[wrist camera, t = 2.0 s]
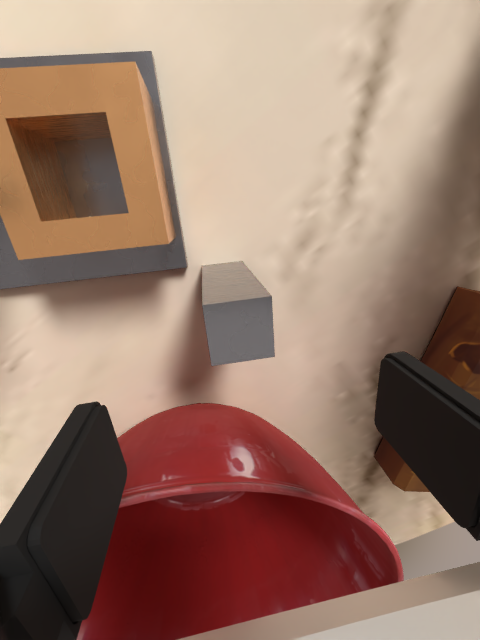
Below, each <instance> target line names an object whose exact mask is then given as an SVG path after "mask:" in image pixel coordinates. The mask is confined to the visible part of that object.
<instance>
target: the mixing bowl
mask: <svg viewBox="0 0 480 640" xmlns="http://www.w3.org/2000/svg"><path fill="white" fill-rule="evenodd" d="M117 440H118V442H119V445H120V448H121V451H122V454H123V457H124V460H125V463H126V466H127V479H126V483H125V487H124V491H123V494H122V498H121V502H120V506H119V509H118V513H117V517H116V520H115V524H114V528H113V532H112V535H111V539H110V543H109V546H108V550H107V554H106V558H105V561H104V565H103V569H102V572H101V576H100V580H99V584H98V587H97V591H96V595H95V598H94V602H93V606H92V609H91V612H90V614H89V616H88V618H87V619H85V620H82V623H81V626H80V630H79V633H78V637H77V640H177V639H181V638H185V637H189V636H193V635H197V634H200V633H204V632H208V631H212V630H216V629H219V628H223V627H227V626H231V625H235V624H238V623H242V622H246V621H250V620H254V619H257V618H261V617H265V616H269V615H273V614H277V613H280V612H284V611H288V610H292V609H296V608H300V607H304V606H308V605H312V604H315V603H319V602H323V601H327V600H331V599H335V598H339V597H343V596H347V595H351V594H354V593H358V592H362V591H366V590H370V589H374V588H378V587H382V586H386V585H390V584H394V583H398V582H401V581H403V579H404V576H403V569H402V564H401V560H400V557H399V554H398V551H397V549H396V547H395V546H394V544H393V542H392V541H391V539H390V538H389V536H388V535H387V534H386V532H385V531H384V530H383V529H382V528H381V527H380V526H379V525H378V524H377V523H375V522H374V521H373V520H372V519H370V518H369V517H368V516H366V515H365V514H364V513H363V512H362V511H361V510H360V509H359V507H358V506H357V505H356V504H355V503H354V501H353V500H352V499H351V498H350V497H349V496H348V494H347V493H346V492H345V491H344V490H343V489H342V488H341V487H340V485H339V484H338V483H337V482H336V481H335V480H334V479H333V478H332V477H331V476H330V475H329V474H328V473H327V472H326V471H325V469H324V468H323V467H322V466H321V465H320V464H319V463H318V462H317V461H316V460H315V459H314V458H313V457H312V456H310V455H309V454H308V453H307V452H306V451H305V450H304V449H303V448H302V447H301V446H299V445H298V444H297V443H296V442H295V441H293V440H292V439H291V438H290V437H288V436H287V435H286V434H284V433H283V432H282V431H280V430H279V429H277V428H276V427H274V426H273V425H271V424H270V423H268V422H267V421H265V420H264V419H262V418H260V417H259V416H257V415H255V414H253V413H250V412H247V411H245V410H242V409H239V408H236V407H232V406H226V405H221V404H212V403H209V404H208V403H204V404H201V403H197V404H191V405H186V406H180V407H176V408H172V409H169V410H167V411H164V412H161V413H158V414H156V415H154V416H152V417H150V418H148V419H146V420H144V421H143V422H141V423H139V424H137V425H136V426H134V427H133V428H131V429H130V430H128V431H127V432H126V433H124V434H123V435H121V436H120V437H119V438H117Z"/></svg>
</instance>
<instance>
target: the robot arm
mask: <svg viewBox="0 0 480 640" xmlns="http://www.w3.org/2000/svg"><path fill="white" fill-rule="evenodd" d="M375 425H376V427H377V429H378V431H379V432H380V433H381V434H382V435H383V437H384V438H385V439H386V440H387V441H388V443H389V444H390V445H391V446H392V447H393V448H394V450H395V451H396V452H397V453H398V454H399V456H400V457H401V458H402V459H403V460H404V461H405V463H406V464H407V465H408V466H409V467H410V469H411V470H412V471H413V472H414V473H415V474H416V476H417V477H418V478H419V479H420V480H421V482H422V483H423V484H424V485H425V486H426V487H427V489H428V490H429V491H430V492H431V493H432V495H433V496H434V497H435V498H436V499H437V501H438V502H439V503H440V504H441V505H442V506H443V508H444V509H445V510H446V511H447V512H448V514H449V515H450V516H451V517H452V518H453V519H454V521H455V522H456V523H457V524H458V525H460V526H461V527H463V528H466V529H467V530H468V531H469V532H470V534H471V535H472V536H473V537H474V538H475V539H476V541H478V540H480V400H479V399H477V398H476V397H474V396H473V395H471V394H470V393H468V392H467V391H465V390H464V389H462V388H461V387H459V386H457V385H456V384H454V383H453V382H451V381H450V380H448V379H447V378H445V377H444V376H442V375H441V374H439V373H437V372H436V371H434V370H433V369H431V368H430V367H428V366H427V365H425V364H424V363H422V362H421V361H419V360H417V359H416V358H414V357H413V356H411V355H410V354H408V353H406V352H397V353H391V354H387V355H386V356H385V358H384V359H383V360H382V361H381V365H380V374H379V383H378V392H377V401H376V410H375ZM126 479H127V466H126V463H125V460H124V457H123V454H122V451H121V448H120V445H119V442H118V440H117V437H116V434H115V431H114V428H113V425H112V422H111V419H110V416H109V413H108V410H107V408H106V406H105V405H102V406H101V405H100V403H99V402H92V403H85V404H79V405H77V406H76V407H75V408H74V410H73V411H72V413H71V414H70V416H69V418H68V419H67V421H66V422H65V424H64V425H63V427H62V429H61V430H60V432H59V433H58V435H57V436H56V438H55V439H54V441H53V443H52V444H51V446H50V447H49V449H48V450H47V452H46V454H45V455H44V457H43V458H42V460H41V461H40V463H39V464H38V466H37V468H36V469H35V471H34V472H33V474H32V475H31V477H30V479H29V480H28V482H27V483H26V485H25V486H24V488H23V489H22V491H21V493H20V494H19V496H18V497H17V499H16V500H15V502H14V504H13V505H12V507H11V508H10V510H9V511H8V513H7V514H6V516H5V518H4V519H3V521H2V522H1V524H0V640H77V637H78V633H79V630H80V626H81V623H82V620H85V619H87V618H88V616H89V614H90V612H91V609H92V606H93V602H94V598H95V595H96V591H97V587H98V584H99V580H100V576H101V572H102V569H103V565H104V561H105V558H106V554H107V550H108V546H109V543H110V539H111V535H112V532H113V528H114V524H115V520H116V517H117V513H118V509H119V506H120V502H121V498H122V494H123V491H124V487H125V483H126ZM177 640H480V562H477V563H474V564H469V565H466V566H461V567H458V568H453V569H450V570H445V571H441V572H437V573H434V574H429V575H425V576H421V577H418V578H413V579H409V580H406V581H401V582H398V583H394V584H390V585H386V586H382V587H378V588H374V589H370V590H366V591H362V592H358V593H354V594H351V595H347V596H343V597H339V598H335V599H331V600H327V601H323V602H319V603H315V604H312V605H308V606H304V607H300V608H296V609H292V610H288V611H284V612H280V613H277V614H273V615H269V616H265V617H261V618H257V619H254V620H250V621H246V622H242V623H238V624H235V625H231V626H227V627H223V628H219V629H216V630H212V631H208V632H204V633H200V634H197V635H193V636H189V637H185V638H181V639H177Z"/></svg>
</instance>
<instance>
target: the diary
mask: <svg viewBox="0 0 480 640" xmlns="http://www.w3.org/2000/svg"><path fill="white" fill-rule="evenodd" d="M421 362H422V363H424V364H425V365H427V366H428V367H430V368H431V369H433V370H434V371H436V372H437V373H439V374H441V375H442V376H444V377H445V378H447V379H448V380H450V381H451V382H453V383H454V384H456V385H457V386H459V387H461V388H462V389H464V390H465V391H467V392H468V393H470V394H471V395H473V396H474V397H476V398H477V399H479V400H480V291H475V290H471V289H466V288H461V287H457V289H456V291H455V293H454V295H453V297H452V299H451V301H450V303H449V305H448V307H447V309H446V311H445V313H444V315H443V317H442V319H441V321H440V323H439V325H438V327H437V329H436V331H435V333H434V336H433V338H432V340H431V342H430V344H429V346H428V348H427V350H426V352H425V354H424V356H423V358H422V360H421ZM374 457H375V459H376V460H377V462H378V463H379V464H380V466H381V467H382V469H383V470H384V472H385V473H386V474H387V476H388V477H389V479H390V480H391V481H392V483H393V484H394V485H396V486H397V487H399V488H400V489H402V490H403V491H417V492H430V491H429V490H428V489H427V487H426V486H425V485H424V484H423V483H422V482H421V480H420V479H419V478H418V477H417V476H416V474H415V473H414V472H413V471H412V470H411V469H410V467H409V466H408V465H407V464H406V463H405V461H404V460H403V459H402V458H401V457H400V456H399V454H398V453H397V452H396V451H395V450H394V448H393V447H392V446H391V445H390V444H389V443H388V441H387V440H386V439H385V438H384V437H383V439H382V441H381V443H380V445H379V447H378V449H377V451H376V453H375V456H374Z"/></svg>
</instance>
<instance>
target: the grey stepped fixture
mask: <svg viewBox="0 0 480 640" xmlns="http://www.w3.org/2000/svg"><path fill="white" fill-rule="evenodd" d="M187 266H188V263H187V257H186V251H185V245H184V239H183V233H182V227H181V221H180V215H179V209H178V203H177V196H176V190H175V184H174V178H173V172H172V166H171V160H170V154H169V148H168V142H167V136H166V130H165V124H164V118H163V111H162V105H161V99H160V93H159V87H158V81H157V75H156V69H155V63H154V58H153V55H152V51H142V52H121V53H100V54H79V55H58V56H37V57H16V58H0V289H6V288H14V287H23V286H32V285H40V284H49V283H57V282H66V281H74V280H83V279H92V278H100V277H109V276H117V275H126V274H134V273H143V272H152V271H160V270H169V269H177V268H186V267H187Z"/></svg>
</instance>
